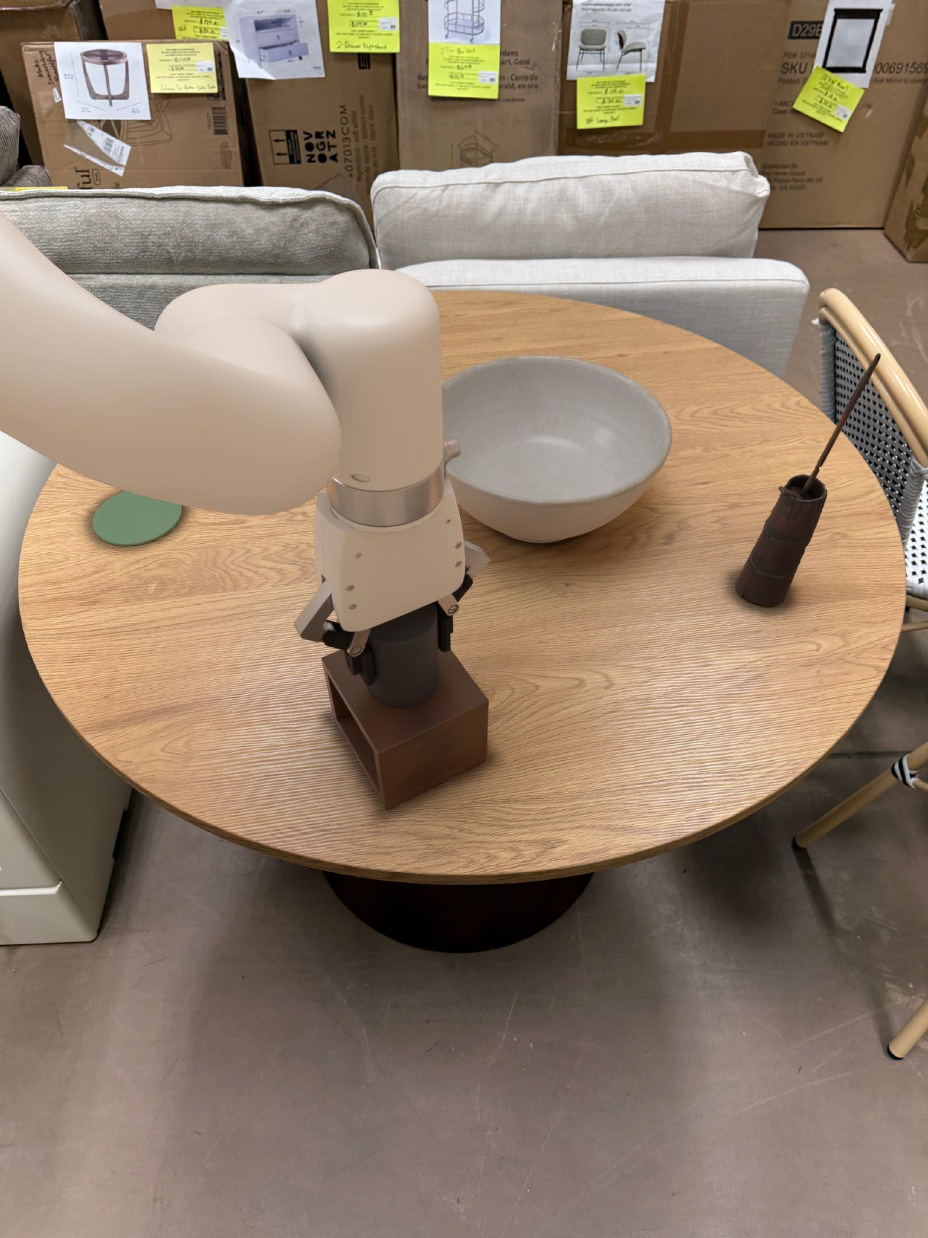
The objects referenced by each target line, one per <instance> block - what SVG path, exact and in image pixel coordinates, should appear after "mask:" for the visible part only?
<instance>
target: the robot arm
mask: <svg viewBox="0 0 928 1238" xmlns="http://www.w3.org/2000/svg"><path fill="white" fill-rule="evenodd" d="M439 309H440V308H439V306H438V302H437V300H436V299H435V296H434V294H433V293H432V292H431V290H429V288H428V287H427V286H426V285H425V284H424V283H423V282H421V281H420V280H419V279H417V278H415V277H413V276H411V275H409V274H406V273H403V272H400V271H396V270H392V269H382V268H363V269H355V270H354V269H353V270H349V271H344V272H340V273H338V274H335V275H332V276H330V277H327V278H326V279H325V280H322V281H320V282H306V283H244V282H243V283H241V282H240V283H237V282H236V283H235V282H234V283H219V284H217V283H216V284H211V285H205V286H200V287H197V288H194V289H191V290H189V291H186V292H184V293H182V294H180V295H179V296H177V297H175V299H173V300H172V301H170V302H169V303H168V305H166V306H165V307H164V309H163V310H162V312H161V313H160V315H159V317H157V321H156V322H155V324H154V325H155V326H154V329H153V330H152V329H150V328H148V327H146V326H144V325H143V324H141V323H139V322H138V321H136V320H134V319H132V318H130V317H129V316H126V315H125V314H123V313H121V312H119V311H118V310H116V309H115V308H113V307H112V306H111V305H109V304H107V303H106V302H104V301H102V300H101V299H99V298H98V297H96V296H95V295H94V294H92V293H91V292H89V291H88V290H87V289H85V288H84V287H83V286H81V285H80V284H79V283H77V282H76V281H75V280H74V279H72V278H71V277H70V276H68V274H66V273H65V272H64V271H63V270H61V269H60V268H59V267H58V266H57V265H56V264H54V262H52V261H51V260H50V259H49V258H48V257H47V256H46V255H45V254H44V253H43V252H42V251H40V250H39V248H37V246H35V245H34V243H32V241H30V239H29V238H28V237H27V236H26V235H25V234H24V233H23V232H22V231H21V230H20V229H19V228H18V227H17V226H16V225H15V224H14V223H13V222H12V221H11V219H10V218H8V216H7V215H5V213H4V212H3V211H2V210H0V432H1V433H3V434H4V435H5V434H6V435H7V436H8V437H10V438H12V439H13V440H15V441H17V442H19V443H21V444H22V445H24V446H26V447H27V448H29V449H31V450H33V451H34V452H36V453H38V454H40V455H41V456H43V457H45V458H46V459H49V460H51V461H53V462H54V463H57V464H59V465H61V466H62V467H64V468H66V469H67V470H70V471H73V472H74V473H77V474H78V475H82V476H84V477H86V478H88V479H91V480H93V481H96V482H99V483H101V484H103V485H106V486H109V487H111V488H114V489H117V490H122V491H123V492H124V491H128V492H131V493H134V494H138V495H142V496H146V497H150V498H154V499H159V500H163V501H167V502H172V503H176V504H180V505H182V506H185V507H188V508H194V509H198V510H203V511H209V512H214V513H220V514H224V515H225V514H226V515H234V516H249V517H250V516H251V517H252V516H253V517H256V516H270V515H276V514H281V513H284V512H288V511H292V510H294V509H297V508H299V507H301V506H304V505H306V503H308V502H311V501H312V500H313V499H315V498H316V500H315V508H314V514H313V517H314V518H313V553H314V554H313V555H314V568H315V575H316V576H315V577H316V583H317V588H318V589H317V591H316V592H315V593H314V595H313V596H312V597H311V599H310V600H309V602H308V603H307V605H306V606H305V607H304V609H303V610H302V611H301V612H300V614H299V615H298V616H297V618H296V619H295V621H294V622H293V627H294V628H295V630H296V632H297V633H298V635H299V637H300V639H303V640H306V641H311V642H315V643H323V644H324V645H325V647H328V648H331V649H332V648H333V649H336V650H344V655H345V661H346V664H347V667H348V669H349V670H350V672H351V674H352V675H353V676H355V675H357V674H360V676H361V678H362V679H363V681H364V682H365V684H366V686H367V687H369V686H371V685H373V684H374V682H375V674H374V666H373V658H372V653H371V651H370V649H369V647H368V646H367V644H366V642H367V639H368V636H369V633H370V630H371V628H372V627H374V626H377V625H379V624H382V623H384V622H387V621H389V620H392V619H394V618H397V617H399V616H402V615H404V614H406V613H409V612H411V611H414V610H416V609H418V608H421V607H423V606H425V605H428V604H430V603H432V602H434V603H435V606H436V609H437V625H438V648H439V649H440V651H441V652H444V653H445V652H447V651H450V650H452V642H451V641H452V639H451V634H453V633H454V615H456V614H457V613H458V612H459V610H460V608H461V606H460V603H459V602H460V601H461V600H462V598H463V597H464V596H465V595H466V593H467V592H468V591H469V590H470V588H472V586H473V584H474V579H475V578H477V577H478V576H479V574H480V573H481V572H482V571H483V570H484V568H485V567H486V566H487V565H488V564H489V562H490V556H489V555H487V553H486V552H485V551H484V549H482V547H481V546H478V545H476V544H474V543H473V542H470V541H468V540H466V539H464V531H463V525H462V519H461V515H460V510H459V505H458V503H457V501H456V498H455V494H454V491H453V488H452V484H451V482H450V479H449V478H448V476H447V475H446V465H447V463H448V462H449V461H451V459H452V458H455V457H458V456H459V455H460V446H459V443H458V441H457V440H456V438H455V437H450V438H447V439H444V438H443V414H442V383H443V374H442V372H443V369H442V368H443V367H442V327H441V314H440V310H439ZM325 488H326V489H325ZM324 489H325V490H324ZM323 490H324V491H323ZM333 612H334V614H335V616H336V620H335V621H333V620H330V619H329V617H330V616H331V614H332V613H333Z"/></svg>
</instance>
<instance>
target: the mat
mask: <svg viewBox="0 0 928 1238" xmlns="http://www.w3.org/2000/svg"><path fill="white" fill-rule="evenodd" d="M182 515H183V505H180V504H176V503H172V502H167V501H163V500H159V499H154V498H150V497H146V496H142V495H138V494H134V493H131V492H128V491H124V490H123V491H122V492H119V493H117V494H115V495H113V496H112V497H110V498H109V499H106V500H105V501H104V502H102V504H101V505H100V506H98V508H97V509H96V511H95V513H94V515H93V517H92V523H91V524H92V529H93V532H94V533H95V535H96V536H97V537H98V538H99V539H100V540H102V541H104V542H105V543H108V544H109V545H114V546H120V547H133V546H139V545H143V544H148V543H151V542H153V541H157V540H158V539H160V538H162V537H163V536H165V535H167V534H168V533H169V532H171V531H172V530H173V529H175V527H176V526H177V525H178V523H179V522H180V520H181V518H182Z"/></svg>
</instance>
